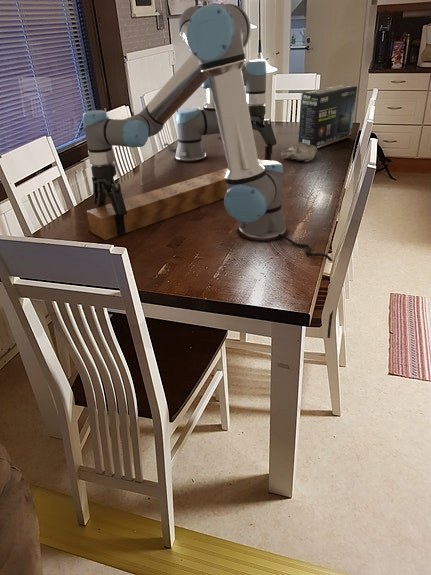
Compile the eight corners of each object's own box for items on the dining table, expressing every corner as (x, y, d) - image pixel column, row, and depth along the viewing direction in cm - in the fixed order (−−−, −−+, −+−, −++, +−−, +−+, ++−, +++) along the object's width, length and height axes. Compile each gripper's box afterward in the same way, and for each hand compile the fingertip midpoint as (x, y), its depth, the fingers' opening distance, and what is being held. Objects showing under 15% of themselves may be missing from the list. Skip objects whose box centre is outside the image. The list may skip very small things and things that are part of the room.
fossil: (311, 156, 210) (288, 135, 213) (297, 175, 216) (275, 154, 219) (325, 153, 223) (304, 133, 226) (312, 171, 230) (290, 152, 233)
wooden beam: (105, 240, 149) (101, 218, 145) (90, 231, 155) (86, 210, 151) (273, 180, 194) (273, 163, 190) (256, 176, 200) (256, 159, 196)
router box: (314, 151, 231) (318, 94, 217) (296, 148, 237) (299, 92, 224) (352, 138, 251) (358, 85, 238) (335, 135, 258) (340, 83, 245)
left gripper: (286, 106, 172) (284, 162, 183) (240, 100, 188) (240, 152, 199) (273, 109, 168) (272, 166, 178) (226, 103, 184) (228, 156, 195)
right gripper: (132, 167, 138) (141, 235, 150) (95, 154, 153) (106, 217, 164) (110, 173, 134) (121, 242, 146) (74, 159, 149) (87, 223, 160)
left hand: (255, 159), depth 189 cm, fingers open, 13 cm apart
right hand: (113, 229), depth 155 cm, fingers closed on wooden beam, 10 cm apart
